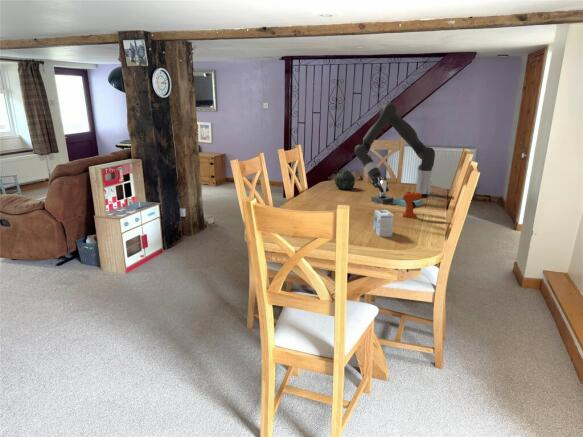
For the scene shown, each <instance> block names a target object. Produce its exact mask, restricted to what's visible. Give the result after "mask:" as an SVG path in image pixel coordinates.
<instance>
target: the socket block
mask: <svg viewBox="0 0 583 437" xmlns="http://www.w3.org/2000/svg"><path fill="white" fill-rule="evenodd" d="M379 196H380V194H378V195H375V196H371V200H370V201H371V202H374V203H377V204H380V205H381V204H382V205H385V204H390V203H391V202H392V203H393V199H395V198H394V197H393V196H387V195H386V198H379ZM392 203H391V204H392Z"/></svg>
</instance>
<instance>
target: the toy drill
mask: <svg viewBox="0 0 583 437" xmlns="http://www.w3.org/2000/svg"><path fill="white" fill-rule="evenodd" d="M437 196H438V194H429V195H427V194H421V193H418V192H416V191H415V192H413V191H412V192H411V191H406V192H405V193H404V194H403V195H402V197H403V200H404V201H405V202H406V207H405V211H404V212H402V218H405V217H406V218H408V219H416V218H417V217H418V215H417V214H415V213H414V210H415V208H417V206H416V205H415V203H414V201H417V200H423V199H428V197H430V198H431V197H437ZM406 218H405V219H406Z"/></svg>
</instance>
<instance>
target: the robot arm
mask: <svg viewBox="0 0 583 437" xmlns="http://www.w3.org/2000/svg"><path fill="white" fill-rule="evenodd" d="M378 111H379V114H380V116H379V118H378V120H377V121H376V122H375V123H374V124H373V125H371V127H370V128H369V129H368V131H367V132H366V133H365V135H364V136H363V138H362V144H357V145H356V146H355V147H354V150H353V151H354V154H355V155H356V156H357V158H358V160H359V161H360V162H361V164H362V166H363V168H364V170H365V171H366V173H367V175H368V176H369V178H370V181H369V183H370V184H371V185H372V186H373V187H374V188H376V189H378V190H379V193H380V192H381V193H383V192H384V190H383V188H382V186H381V184H380V182H381V180H387V179H388V178H387V177H386V176H384V177H383V176H382V173H381V170H380V169H379V167H378V166H377V163H375V162H374V160H373V158H372V157H371V155H369V151H370V149H371V147H372V145H373V143H374V142H375V140H376V139H377V137H378V136H379V134H380V133H381V131H383V129H384V128H385V126H386V125H387V124H388V123H389V124H390V125H391V126H392V128H394V130H395V131H396V132H397V134H398V135H399V136H400V137H401V138H402V140H404V141H405V142H406V144H408V145H409V146H410V148H411V149H412V150H413V151H414V153H415V154H416V155H417V157H418V158H419V159H420V160H421V163H420V164H419V165H418V168H417V178H416V187H415V188H416V189H415V193H416V192H418V193H421V194H427V195H431V188H432V172H433V167H434V163H435V157H436V152H435V149H433V147H430V146H426V145H425V144H424V143H423V142H422V141H421V140H420V138H419V136H418V134H417V132H416V130H415V128H413V127H412V125H410V123H409V122H407V121H406V120H405V119H403V118H402V117H400V115H399V114H398V113H397V106H396V105H395V104H393V103H392V102H391V103H390V102H384V103H382V104H381V105H380V106H379V110H378ZM388 185H389V182H388V180H387V186H386V193H388V192H389V191H390V189H389V188H388Z"/></svg>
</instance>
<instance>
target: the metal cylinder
mask: <svg viewBox="0 0 583 437" xmlns="http://www.w3.org/2000/svg"><path fill="white" fill-rule="evenodd" d="M387 182H388V180H381V182H380V184H381V186H382V188H383V190H384V192H383V193H381V192H380V191H379V195H380V196H379V195H378V196H379V198H386V196H387V192H386V186H387V187H388V185H387Z"/></svg>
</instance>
